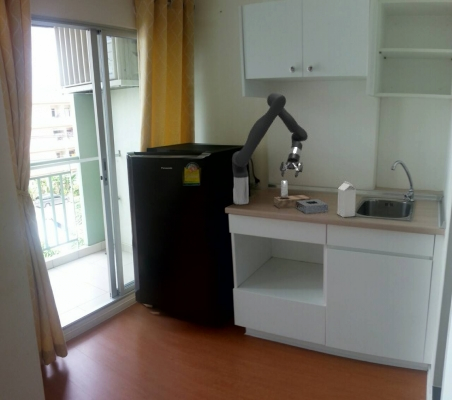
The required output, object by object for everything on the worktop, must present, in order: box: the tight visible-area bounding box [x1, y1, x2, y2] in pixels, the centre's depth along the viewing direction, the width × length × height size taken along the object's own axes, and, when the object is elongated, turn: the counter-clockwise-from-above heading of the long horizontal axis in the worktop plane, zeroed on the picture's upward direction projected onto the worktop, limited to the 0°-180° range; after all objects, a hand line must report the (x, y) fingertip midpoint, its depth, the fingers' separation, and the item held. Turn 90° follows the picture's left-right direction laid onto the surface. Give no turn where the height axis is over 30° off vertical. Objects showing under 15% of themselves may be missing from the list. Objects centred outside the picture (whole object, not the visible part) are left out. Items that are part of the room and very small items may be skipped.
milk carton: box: [336, 180, 357, 218], centre depth 229 cm, size 7×7×19 cm
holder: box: [295, 198, 329, 215], centre depth 244 cm, size 14×14×4 cm
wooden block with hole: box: [273, 194, 311, 210], centre depth 256 cm, size 20×10×5 cm, turn 102°
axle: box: [280, 179, 289, 200], centre depth 253 cm, size 4×4×16 cm
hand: (289, 176), depth 260 cm, fingers open, 8 cm apart
